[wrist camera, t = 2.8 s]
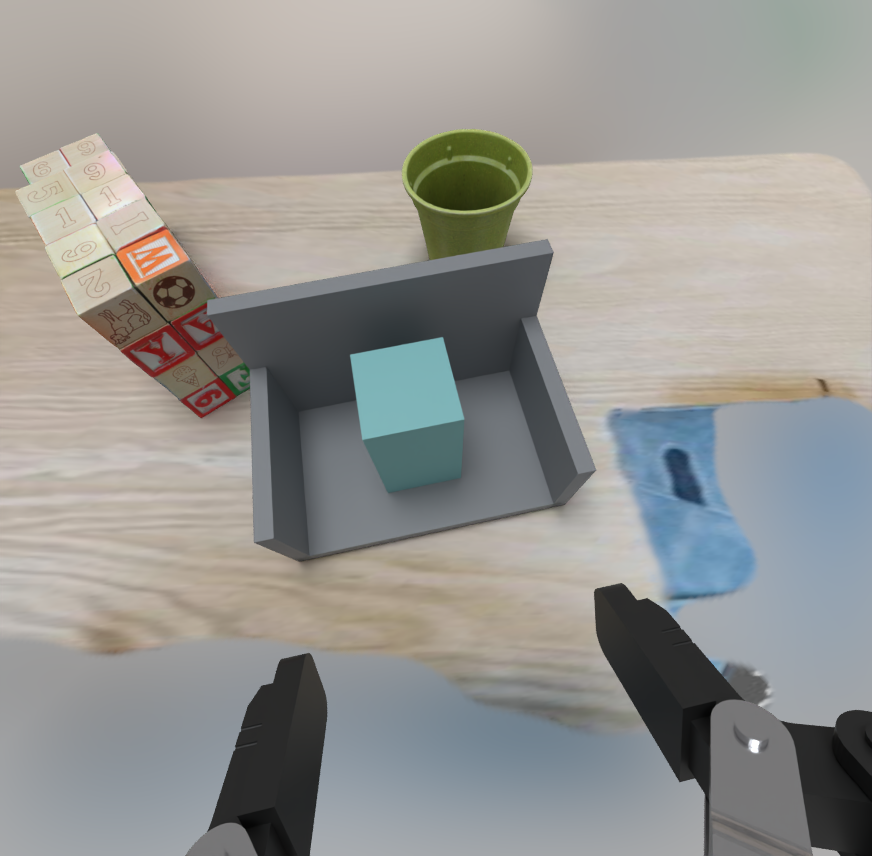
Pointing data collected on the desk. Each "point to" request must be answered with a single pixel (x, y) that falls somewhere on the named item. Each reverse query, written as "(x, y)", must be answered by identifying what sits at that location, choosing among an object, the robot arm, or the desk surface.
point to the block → (410, 413)
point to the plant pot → (466, 189)
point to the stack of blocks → (130, 273)
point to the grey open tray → (338, 412)
